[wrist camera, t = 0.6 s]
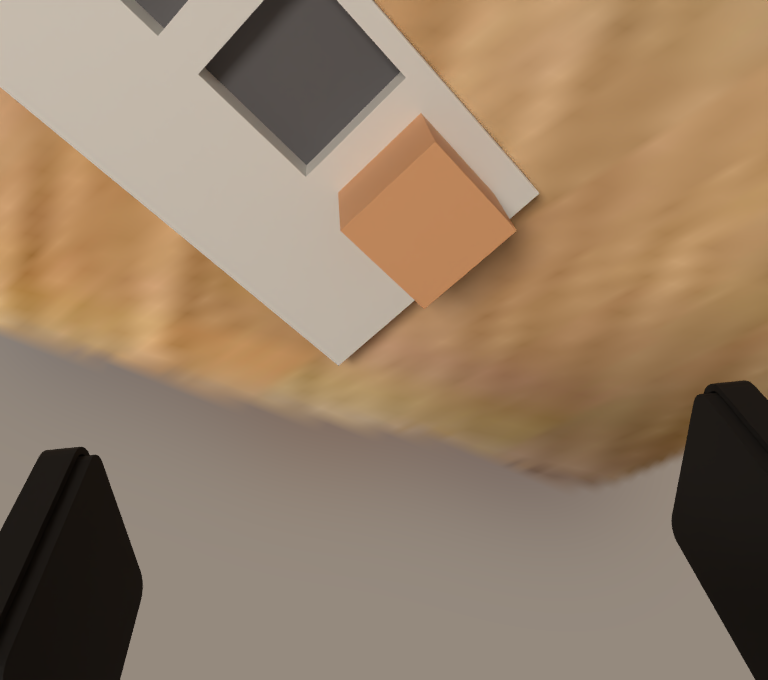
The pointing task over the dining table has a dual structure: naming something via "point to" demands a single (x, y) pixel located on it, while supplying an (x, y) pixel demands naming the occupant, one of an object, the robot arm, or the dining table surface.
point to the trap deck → (247, 132)
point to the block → (422, 213)
